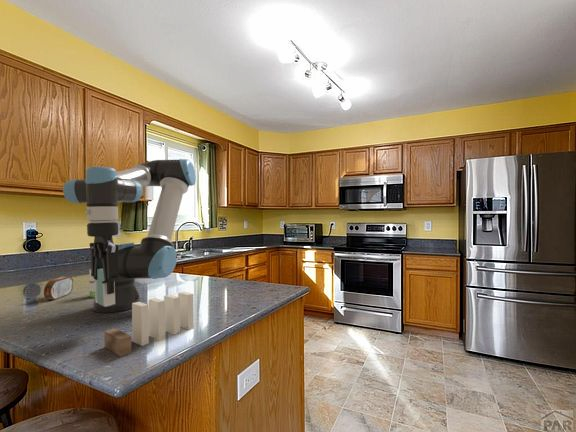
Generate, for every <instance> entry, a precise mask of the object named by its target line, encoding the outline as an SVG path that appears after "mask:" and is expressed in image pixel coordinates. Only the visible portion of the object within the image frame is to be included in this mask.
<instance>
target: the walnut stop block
mask: <svg viewBox="0 0 576 432" xmlns="http://www.w3.org/2000/svg"><path fill="white" fill-rule="evenodd" d="M104 348H105V349H107V350H108V351H111V352H112V353H114V354H116V355H117V356H119V357H121V358H122V357H123V356H126V355H130V354H132V336H131V335H129V334H127V333H125V332H123V331H121V330H119V329H117V328H110V329H108V330H104Z"/></svg>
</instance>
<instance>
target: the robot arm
mask: <svg viewBox="0 0 576 432" xmlns="http://www.w3.org/2000/svg"><path fill="white" fill-rule="evenodd" d="M196 177H197V176H196V170H195V167H194V165H193V163H192V161H191V160H190V159H186V158H185V159H184V158H183V159H182V158H179V159H155V160H150V161H146V162H143V163H139V164H135V165H133V166H131V167H130V168H128V169H124V170H119V171H117V170H116V169H115V168H113V167H109V166H108V167H107V166H90V167H87V168H86V171H85V178H83V179H78V178H76V179H69V180H68V181H66V182H65V183H64V184H63V187H62V192H63V196H64V198H65V199H66V201H67V202H70V203H72V204H74V203H75V204H86V210H85V211H84V214H86V220H87V222H89V223H87V224H86V231H87V232H86V233H87V234H86V235H87V236H88V237H89V238H91V237H94V238H93V242H89V250H90V269H91V276H92V277H93V276H94V279H96V280H95V298H94V301H93V304H92V307H93V308H92V310H93V312H95V313H115V312H121V311H127V310H130V309H131V310H132V303H135V302H141V297H140V294H139V292H138V291H139V290H138V289H137V286H136V279H152V280H157V279H165V278H167V277H169V276H171V274H172V273H173V272H174V270H175V268H176V265H177V260H178V258H177V256H178V254H177V250H176V248H175V246H174V244H173V242H172V238H173V234H174V230H175V227H176V223H177V219H178V215H179V214H178V213H179V210H180V207H181V203H182V199H183V195H184V194H186V193H187V192H188V190H189V188H190V187H192V186H194V185H195V184H196V180H197V179H196ZM145 187H161V190H160V193H159V198H158V200H157V203H156V207H155V210H154V214H153V216H152V219H151V223H150V226H149V230H148V233H147V236H145V237H143V238H141V240H140V243H139V246H136V244H135V243H134V242H129V243H120V244H115V243H114V239H113V236H117V235H118V234H119V223H118V222H117V221H118V220H119V206H118V203H126V204H127V203H137V202H138V201H140V199H141V198H143V197H142V196H143V191H144V190H143V188H145ZM102 268H103V273H104V280H105V281H102V283H103V299H104V306H102V305H100V304H98V278H97V269H102ZM109 305H111V306H109ZM105 306H107V307H105Z"/></svg>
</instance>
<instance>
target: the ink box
mask: <svg viewBox="0 0 576 432" xmlns="http://www.w3.org/2000/svg"><path fill="white" fill-rule="evenodd" d="M88 273H89V283H88V284H89V297H90V298H94V299H95V280H96V279H94V276H93V277H92V276H91V268H90V269H89V272H88Z"/></svg>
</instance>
